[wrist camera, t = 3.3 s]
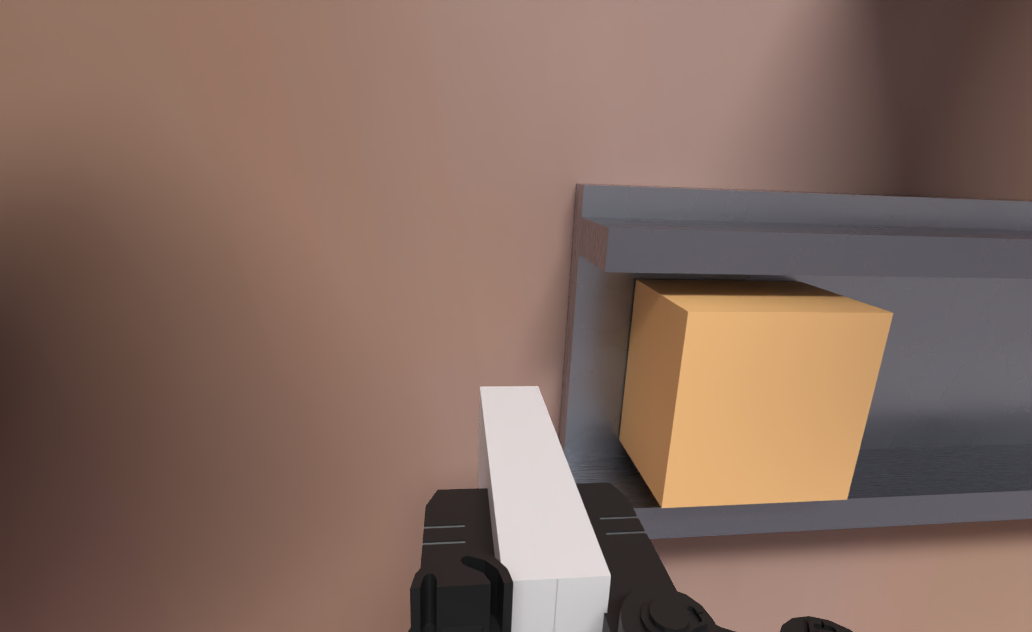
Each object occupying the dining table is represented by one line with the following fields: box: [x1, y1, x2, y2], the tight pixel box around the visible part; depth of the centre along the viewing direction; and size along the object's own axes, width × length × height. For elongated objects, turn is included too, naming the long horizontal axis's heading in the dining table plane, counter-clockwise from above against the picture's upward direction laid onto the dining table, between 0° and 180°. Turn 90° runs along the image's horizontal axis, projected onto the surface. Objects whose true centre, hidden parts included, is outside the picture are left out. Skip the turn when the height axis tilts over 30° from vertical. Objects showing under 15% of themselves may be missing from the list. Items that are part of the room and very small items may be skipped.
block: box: [619, 279, 893, 508], centre depth 17 cm, size 6×6×4 cm
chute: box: [559, 184, 1032, 539], centre depth 19 cm, size 32×12×4 cm, turn 88°
